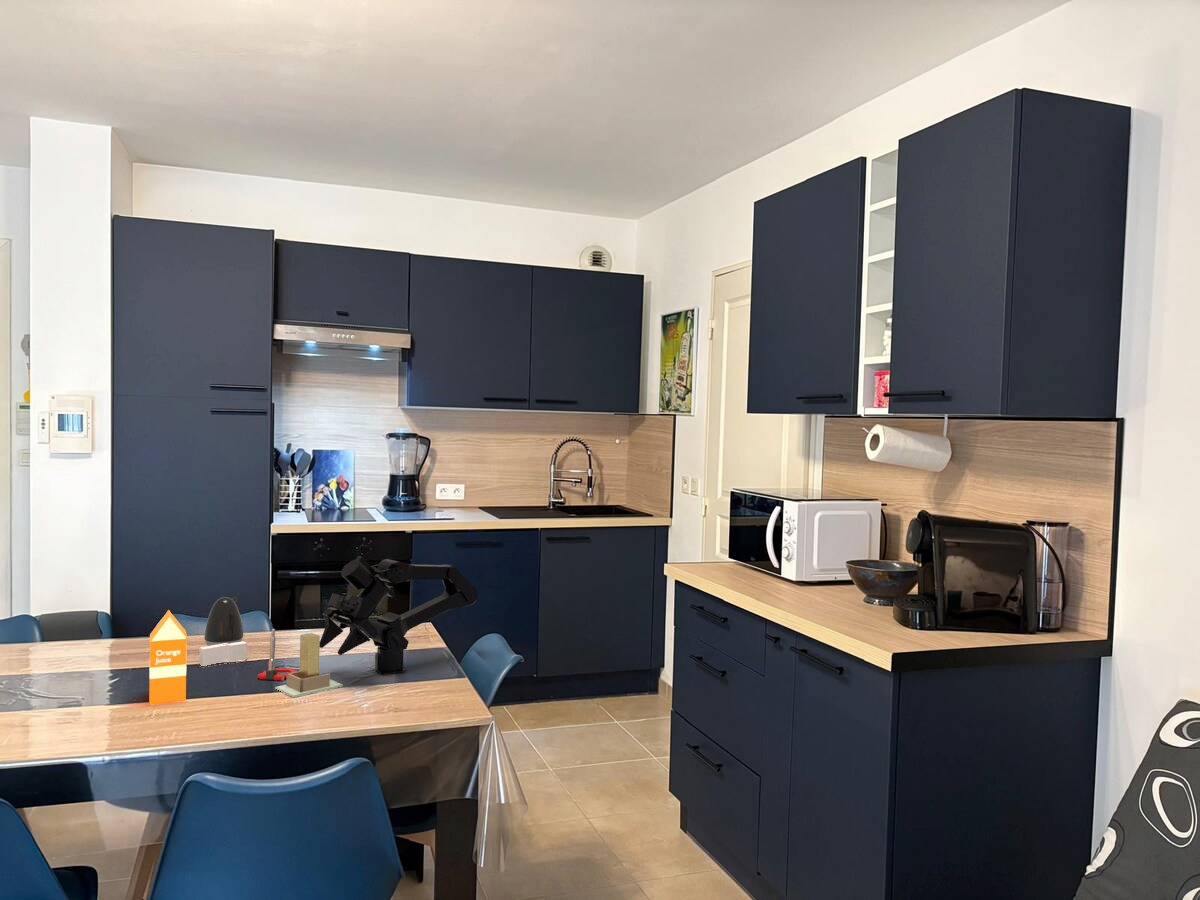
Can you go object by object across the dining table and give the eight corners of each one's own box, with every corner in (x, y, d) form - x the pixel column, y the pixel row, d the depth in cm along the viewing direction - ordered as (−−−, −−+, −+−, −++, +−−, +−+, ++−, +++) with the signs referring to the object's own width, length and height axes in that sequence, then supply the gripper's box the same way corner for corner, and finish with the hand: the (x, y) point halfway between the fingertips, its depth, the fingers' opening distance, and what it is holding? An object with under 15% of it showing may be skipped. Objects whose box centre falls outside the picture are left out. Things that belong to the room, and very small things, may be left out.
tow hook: (273, 671, 227) (253, 679, 218) (275, 622, 227) (256, 628, 218) (302, 673, 226) (284, 682, 217) (305, 624, 226) (287, 630, 217)
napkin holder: (189, 671, 225) (189, 649, 225) (201, 659, 236) (202, 639, 236) (249, 670, 228) (250, 648, 228) (259, 658, 239) (259, 638, 239)
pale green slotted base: (323, 679, 220) (324, 665, 220) (342, 686, 214) (342, 672, 214) (275, 689, 210) (275, 674, 210) (293, 697, 204) (293, 682, 204)
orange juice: (148, 705, 197) (149, 618, 196) (148, 694, 204) (149, 610, 204) (186, 700, 200) (187, 615, 200) (185, 690, 208) (186, 608, 208)
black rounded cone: (251, 647, 249) (252, 595, 249) (227, 656, 239) (228, 601, 238) (220, 644, 251) (221, 592, 251) (196, 653, 241) (196, 599, 241)
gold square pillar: (314, 681, 215) (315, 632, 215) (322, 685, 213) (323, 635, 212) (295, 685, 212) (296, 635, 211) (303, 689, 209) (304, 638, 209)
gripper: (329, 576, 225) (289, 625, 218) (368, 586, 213) (327, 638, 205) (356, 602, 231) (318, 650, 224) (395, 613, 219) (356, 665, 211)
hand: (329, 650), depth 216 cm, fingers open, 9 cm apart
